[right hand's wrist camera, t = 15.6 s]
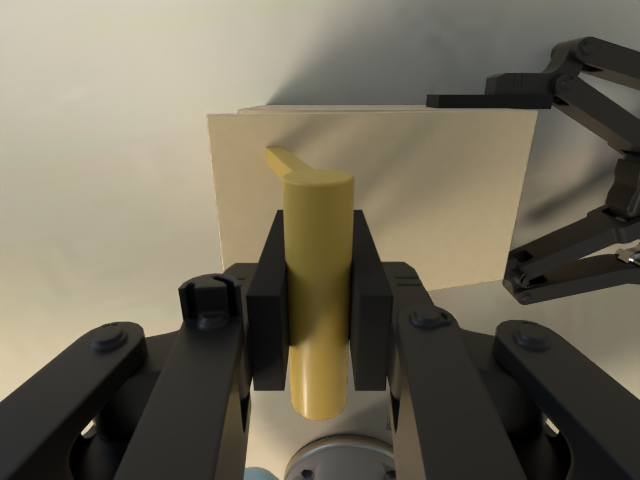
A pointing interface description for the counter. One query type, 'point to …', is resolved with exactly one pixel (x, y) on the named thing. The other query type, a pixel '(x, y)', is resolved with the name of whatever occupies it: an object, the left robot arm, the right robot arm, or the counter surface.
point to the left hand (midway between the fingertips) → (423, 184)
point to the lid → (365, 211)
